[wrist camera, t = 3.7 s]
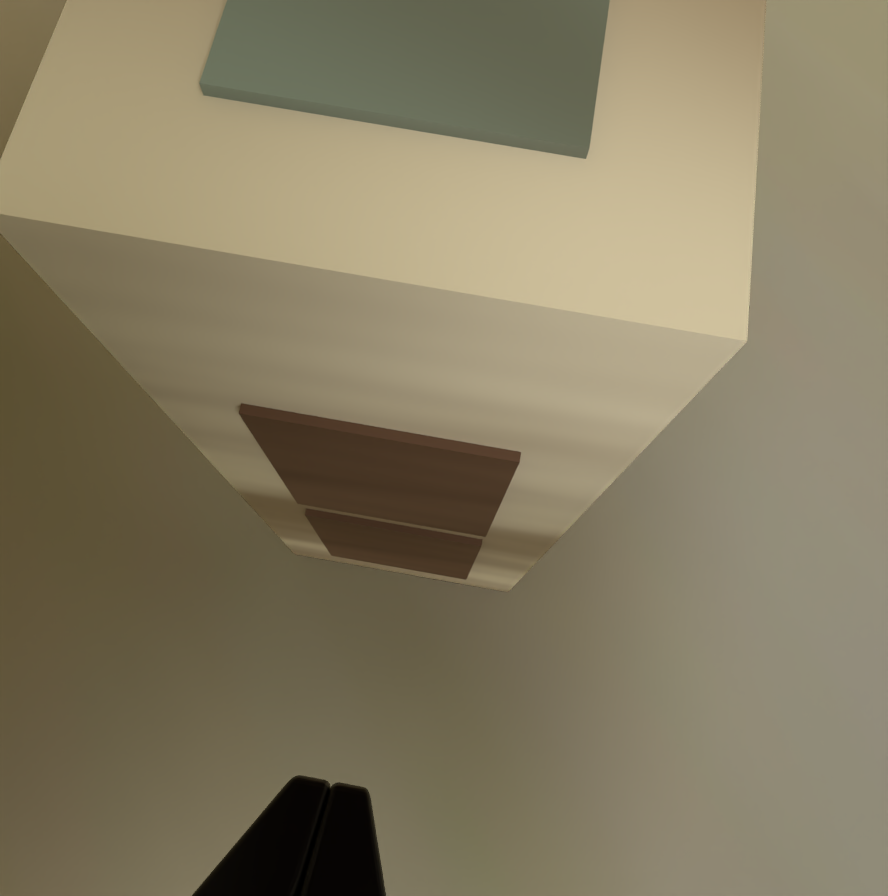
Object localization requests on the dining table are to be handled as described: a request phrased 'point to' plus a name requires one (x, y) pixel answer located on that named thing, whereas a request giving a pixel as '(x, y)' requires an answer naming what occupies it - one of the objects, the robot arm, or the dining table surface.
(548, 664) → the dining table surface
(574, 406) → the cream two-panel pillar
